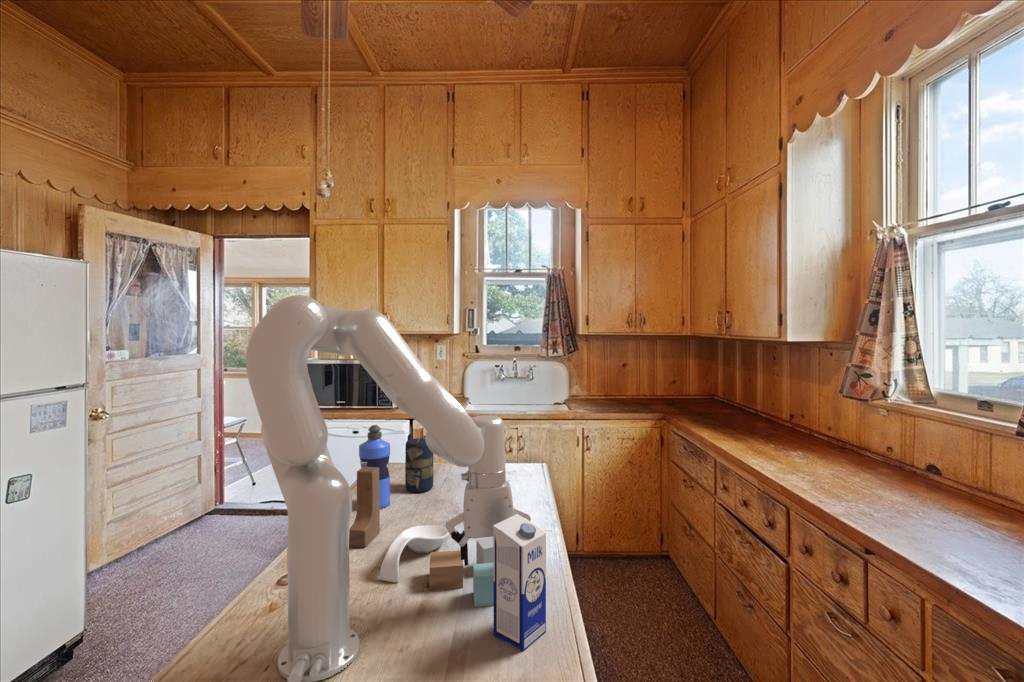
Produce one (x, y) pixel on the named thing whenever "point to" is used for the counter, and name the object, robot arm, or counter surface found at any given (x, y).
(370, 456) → the water bottle
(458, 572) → the walnut block
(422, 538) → the spoon rest
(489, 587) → the teal block
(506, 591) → the milk carton
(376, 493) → the wooden block
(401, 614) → the counter surface
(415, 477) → the canister
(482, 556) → the grey block
